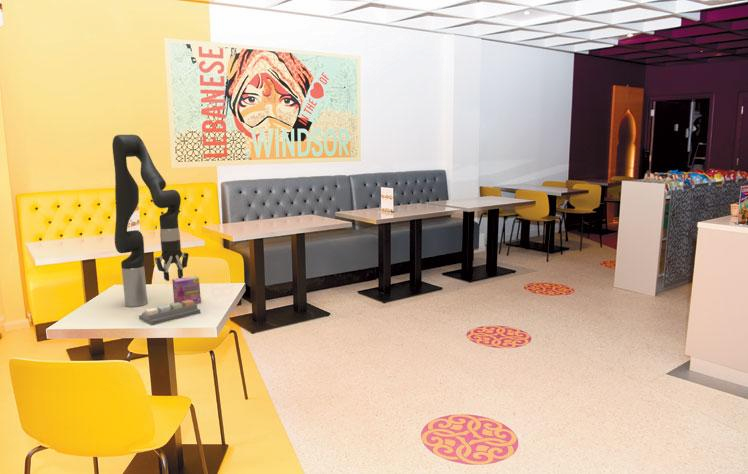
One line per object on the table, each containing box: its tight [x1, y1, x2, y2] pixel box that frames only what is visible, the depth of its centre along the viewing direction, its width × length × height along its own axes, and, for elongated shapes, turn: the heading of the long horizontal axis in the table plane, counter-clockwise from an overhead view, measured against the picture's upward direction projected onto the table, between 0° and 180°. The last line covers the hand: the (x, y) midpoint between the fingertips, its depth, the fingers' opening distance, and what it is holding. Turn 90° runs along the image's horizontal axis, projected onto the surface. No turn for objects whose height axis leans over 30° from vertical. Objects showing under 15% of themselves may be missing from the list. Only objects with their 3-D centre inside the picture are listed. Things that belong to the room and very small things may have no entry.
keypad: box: [138, 303, 201, 326], centre depth 233 cm, size 12×21×3 cm, turn 135°
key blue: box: [156, 304, 171, 312], centre depth 230 cm, size 4×4×2 cm
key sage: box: [168, 302, 183, 310], centre depth 234 cm, size 4×4×2 cm
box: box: [171, 275, 202, 305], centre depth 249 cm, size 10×6×12 cm, turn 126°
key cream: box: [144, 307, 158, 315], centre depth 227 cm, size 4×4×2 cm
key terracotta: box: [181, 300, 194, 307], centre depth 237 cm, size 4×4×2 cm
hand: (173, 279), depth 232 cm, fingers open, 5 cm apart
